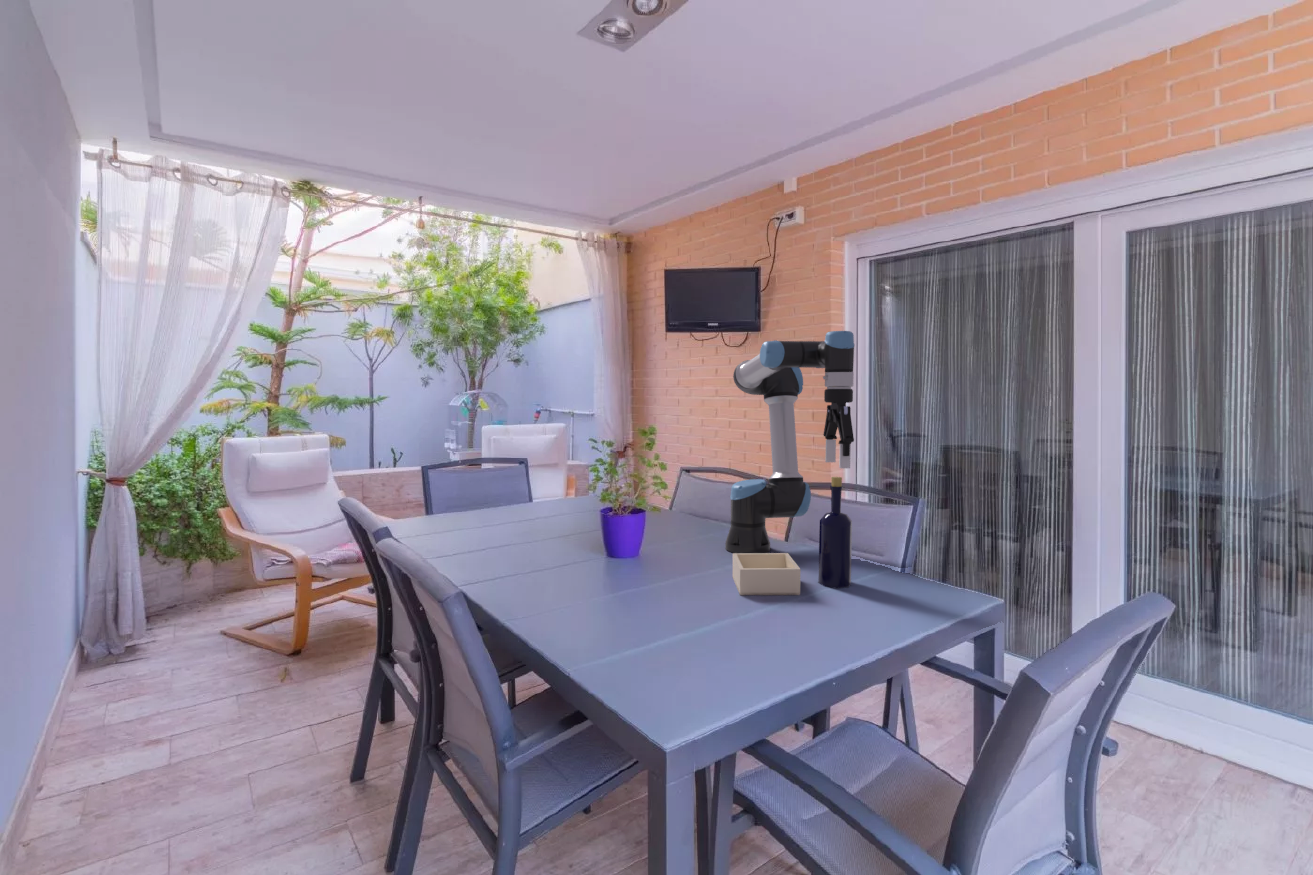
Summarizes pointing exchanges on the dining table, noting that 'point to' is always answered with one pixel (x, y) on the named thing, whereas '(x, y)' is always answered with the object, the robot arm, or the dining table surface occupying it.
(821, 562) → the bottle
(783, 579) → the bin
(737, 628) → the dining table surface
